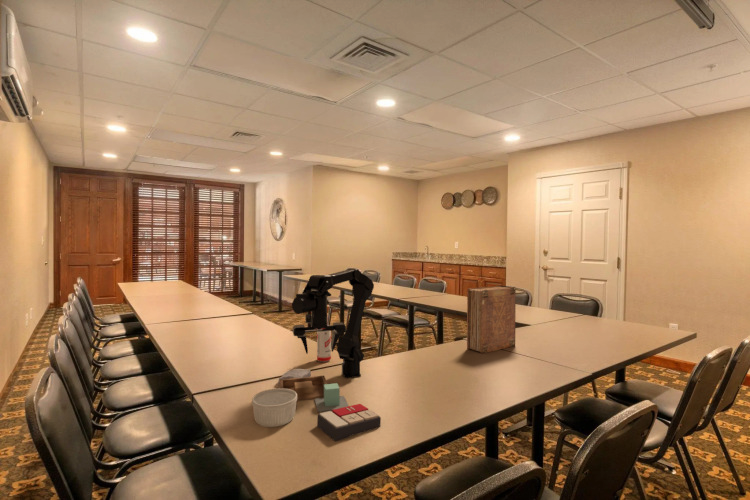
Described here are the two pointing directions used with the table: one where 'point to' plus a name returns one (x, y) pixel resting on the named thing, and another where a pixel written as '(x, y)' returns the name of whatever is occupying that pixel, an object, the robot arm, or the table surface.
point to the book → (491, 318)
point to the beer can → (324, 345)
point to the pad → (323, 408)
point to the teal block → (331, 394)
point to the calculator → (347, 421)
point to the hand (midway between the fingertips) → (319, 352)
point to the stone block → (295, 374)
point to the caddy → (305, 387)
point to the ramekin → (274, 407)
